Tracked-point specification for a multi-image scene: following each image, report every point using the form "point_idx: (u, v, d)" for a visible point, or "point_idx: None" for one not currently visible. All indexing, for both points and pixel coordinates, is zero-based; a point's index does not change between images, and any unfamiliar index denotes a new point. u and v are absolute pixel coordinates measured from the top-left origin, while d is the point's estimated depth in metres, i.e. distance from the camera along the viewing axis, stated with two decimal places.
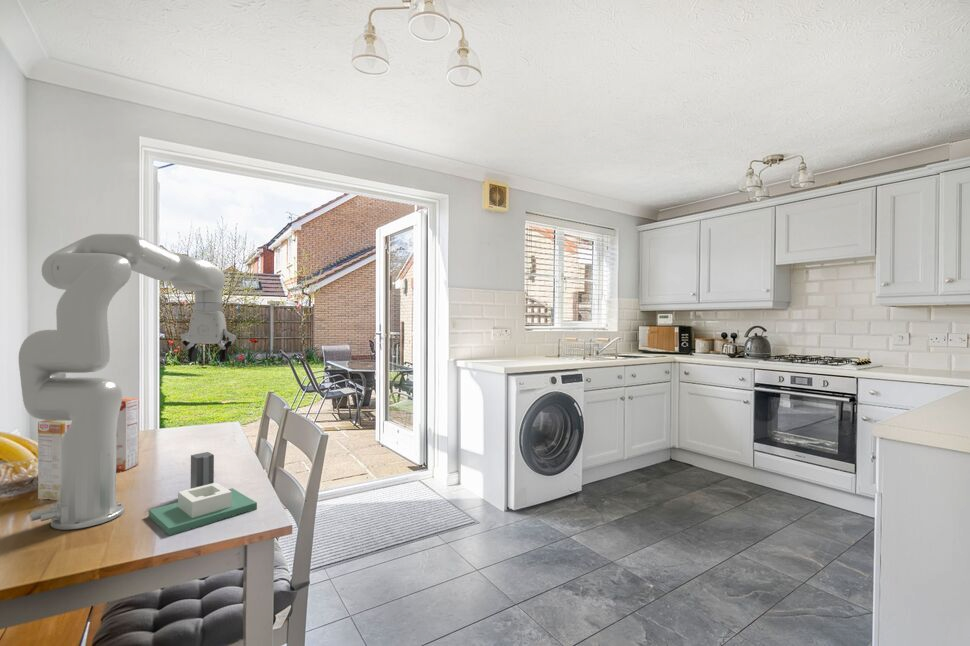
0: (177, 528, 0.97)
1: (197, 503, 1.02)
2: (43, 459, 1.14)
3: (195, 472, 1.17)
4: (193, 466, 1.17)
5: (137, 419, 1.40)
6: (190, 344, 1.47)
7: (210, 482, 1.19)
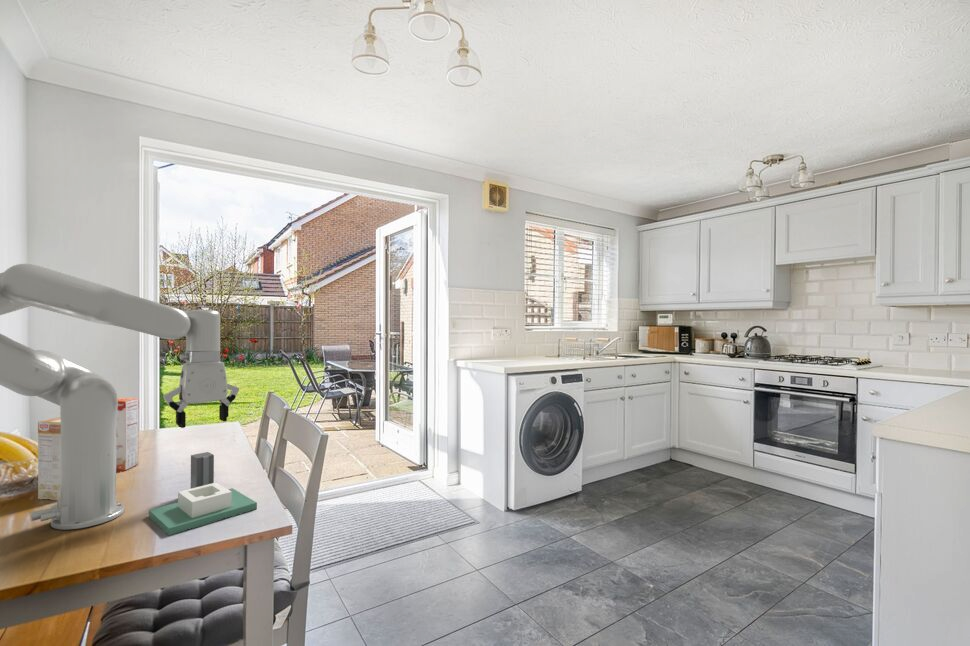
0: (177, 528, 0.97)
1: (197, 503, 1.02)
2: (43, 459, 1.14)
3: (195, 472, 1.17)
4: (193, 466, 1.17)
5: (137, 419, 1.40)
6: (183, 405, 1.14)
7: (210, 482, 1.19)
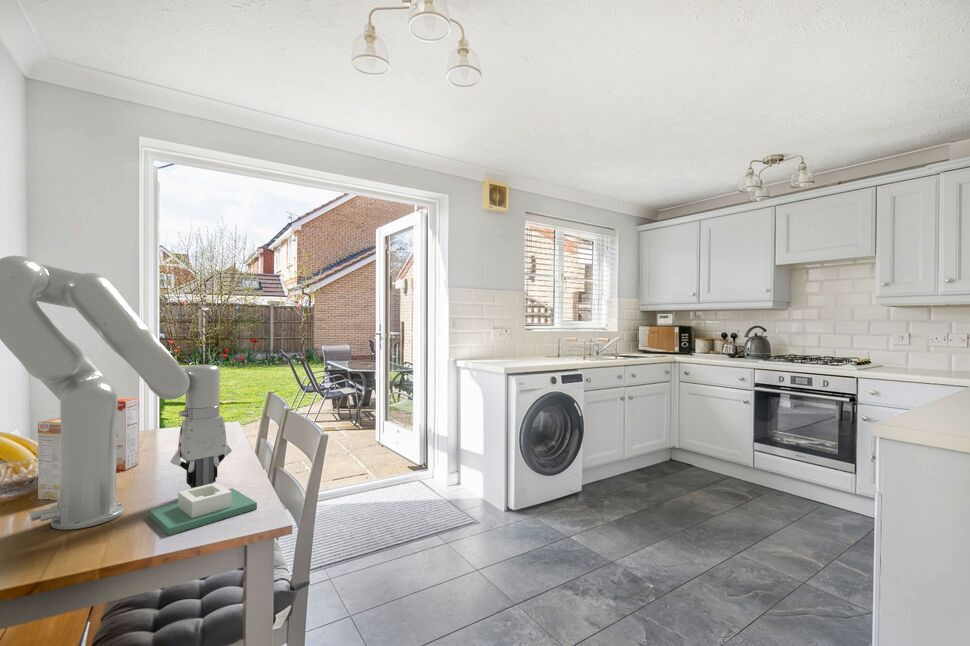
0: (177, 528, 0.97)
1: (197, 503, 1.02)
2: (43, 459, 1.14)
3: None
4: None
5: (137, 419, 1.40)
6: (194, 465, 1.16)
7: (210, 482, 1.19)
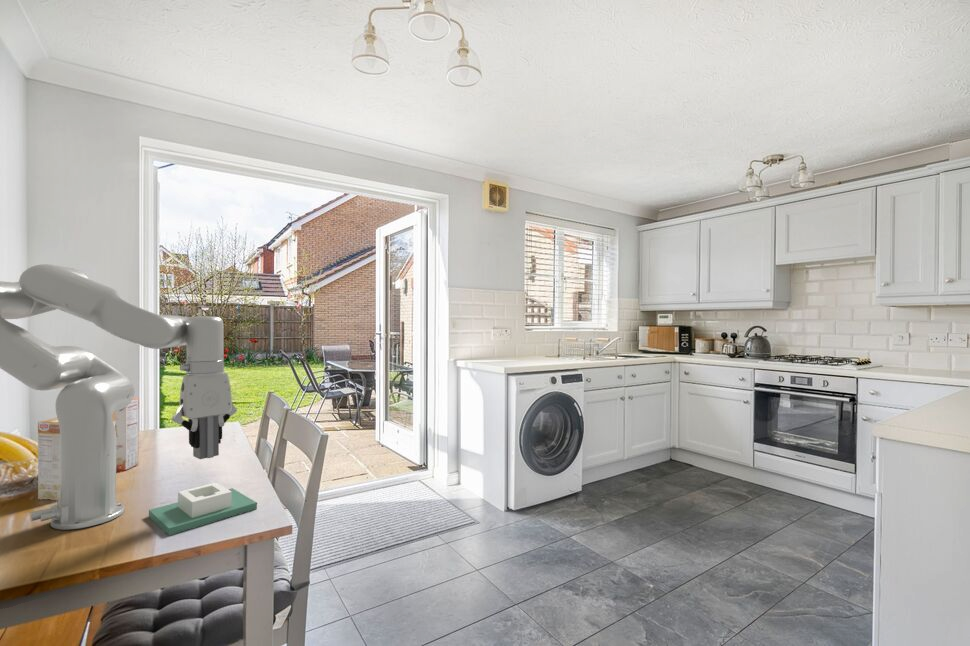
0: (177, 528, 0.97)
1: (197, 503, 1.02)
2: (43, 459, 1.14)
3: None
4: None
5: (137, 419, 1.40)
6: (197, 424, 1.07)
7: (215, 443, 1.09)
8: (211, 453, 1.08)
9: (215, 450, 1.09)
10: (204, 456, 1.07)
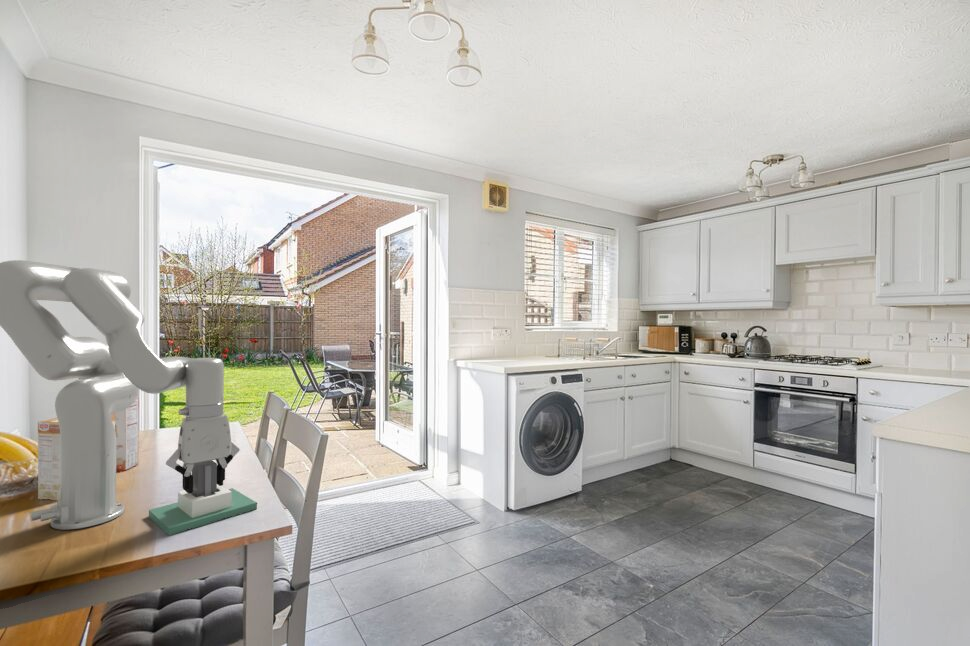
0: (177, 528, 0.97)
1: (197, 503, 1.02)
2: (43, 459, 1.14)
3: (196, 482, 1.05)
4: (194, 476, 1.06)
5: (137, 419, 1.40)
6: (191, 469, 1.04)
7: (213, 494, 1.07)
8: None
9: None
10: None
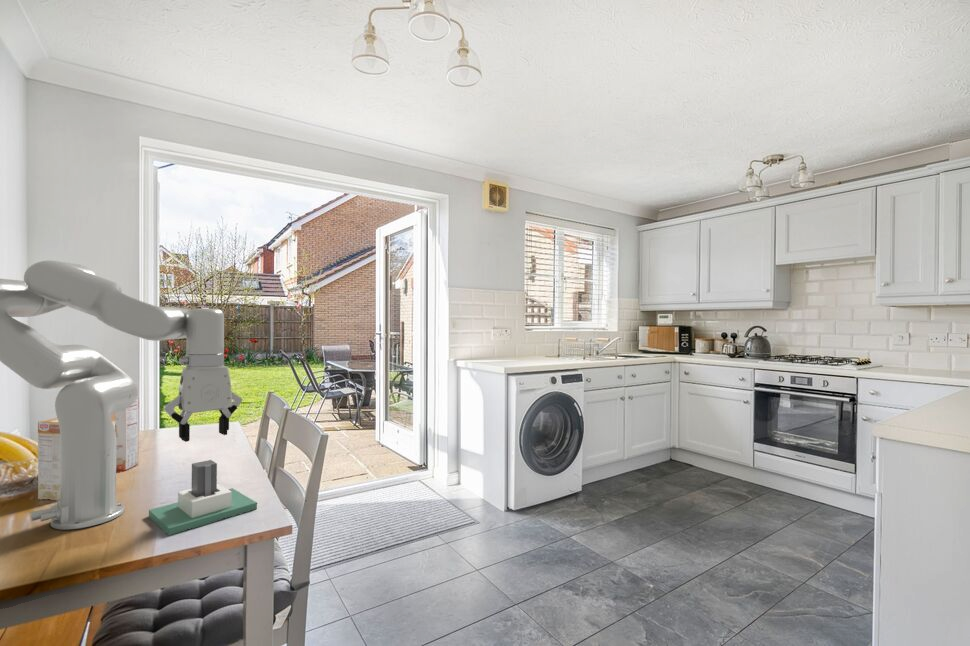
0: (177, 528, 0.97)
1: (197, 503, 1.02)
2: (43, 459, 1.14)
3: (196, 482, 1.05)
4: (194, 476, 1.06)
5: (137, 419, 1.40)
6: (187, 417, 1.03)
7: (213, 494, 1.07)
8: None
9: None
10: None
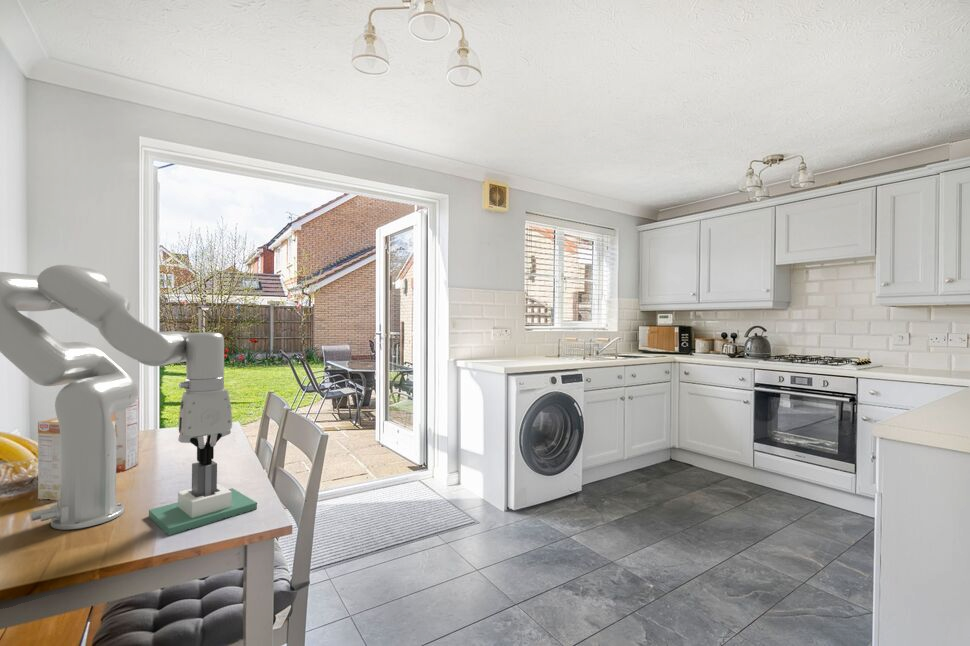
0: (177, 528, 0.97)
1: (197, 503, 1.02)
2: (43, 459, 1.14)
3: (196, 482, 1.05)
4: (194, 476, 1.06)
5: (137, 419, 1.40)
6: None
7: (213, 494, 1.07)
8: None
9: None
10: None
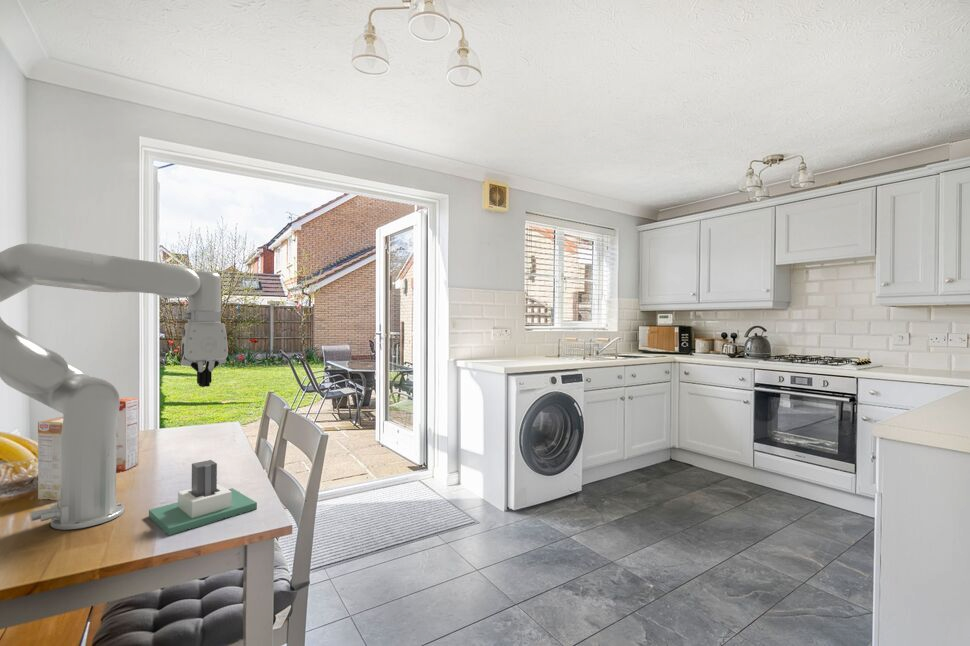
0: (177, 528, 0.97)
1: (197, 503, 1.02)
2: (43, 459, 1.14)
3: (196, 482, 1.05)
4: (194, 476, 1.06)
5: (137, 419, 1.40)
6: None
7: (213, 494, 1.07)
8: None
9: None
10: None
